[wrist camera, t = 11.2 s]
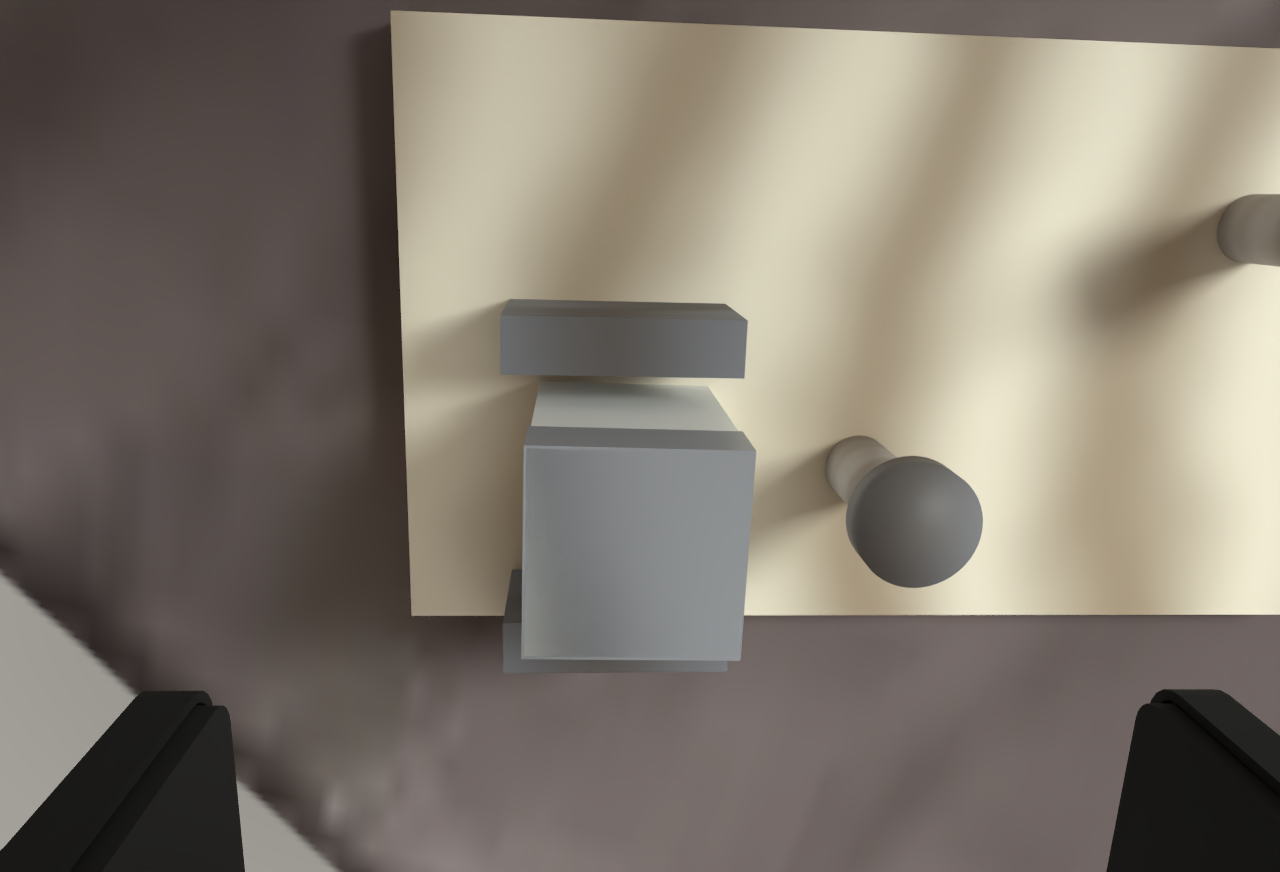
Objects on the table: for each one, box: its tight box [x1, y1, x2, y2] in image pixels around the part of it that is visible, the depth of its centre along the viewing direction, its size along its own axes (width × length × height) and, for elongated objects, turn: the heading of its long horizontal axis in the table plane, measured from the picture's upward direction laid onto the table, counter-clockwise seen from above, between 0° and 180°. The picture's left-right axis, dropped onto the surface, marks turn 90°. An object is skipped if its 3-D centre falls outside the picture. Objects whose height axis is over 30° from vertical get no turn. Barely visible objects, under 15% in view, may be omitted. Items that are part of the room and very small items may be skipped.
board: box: [390, 10, 1280, 673], centre depth 21 cm, size 24×14×6 cm, turn 88°
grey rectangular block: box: [521, 381, 756, 661], centre depth 20 cm, size 4×4×6 cm
